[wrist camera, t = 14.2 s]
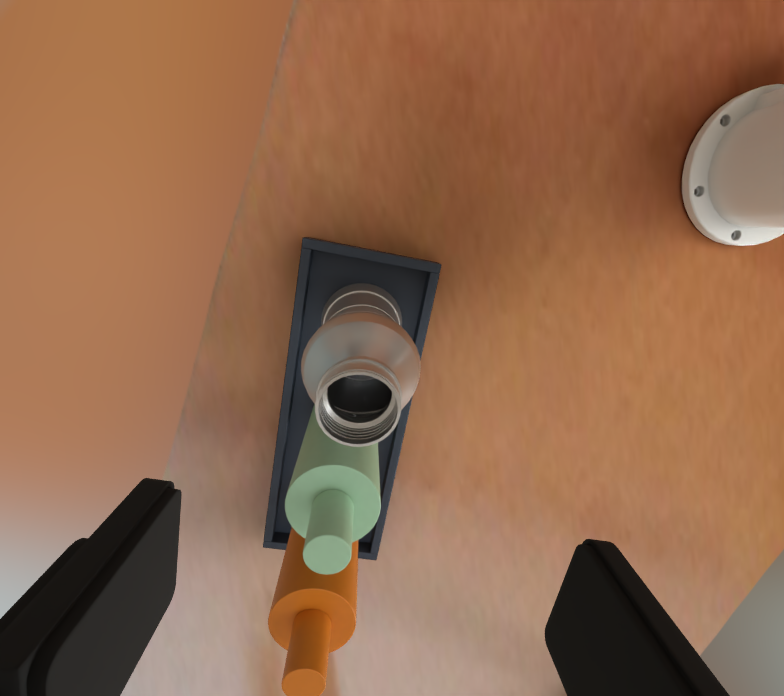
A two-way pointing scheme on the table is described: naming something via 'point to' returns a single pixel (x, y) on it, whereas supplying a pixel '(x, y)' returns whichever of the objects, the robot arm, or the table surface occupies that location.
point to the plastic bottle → (360, 366)
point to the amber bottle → (311, 617)
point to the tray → (314, 288)
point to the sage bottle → (332, 498)
